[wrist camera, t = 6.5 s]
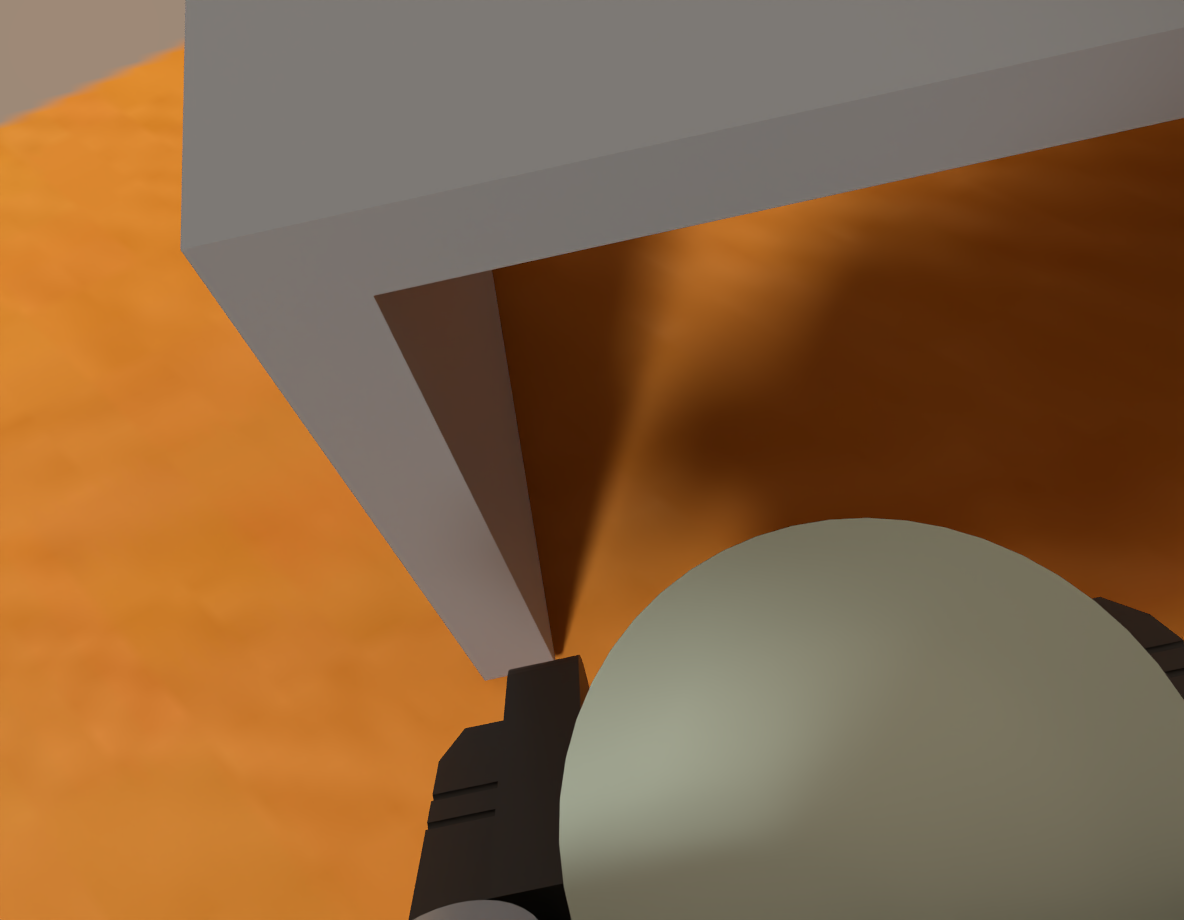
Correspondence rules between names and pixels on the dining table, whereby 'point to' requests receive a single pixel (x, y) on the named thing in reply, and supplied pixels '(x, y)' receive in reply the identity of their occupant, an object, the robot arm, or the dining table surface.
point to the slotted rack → (565, 196)
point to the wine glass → (875, 743)
